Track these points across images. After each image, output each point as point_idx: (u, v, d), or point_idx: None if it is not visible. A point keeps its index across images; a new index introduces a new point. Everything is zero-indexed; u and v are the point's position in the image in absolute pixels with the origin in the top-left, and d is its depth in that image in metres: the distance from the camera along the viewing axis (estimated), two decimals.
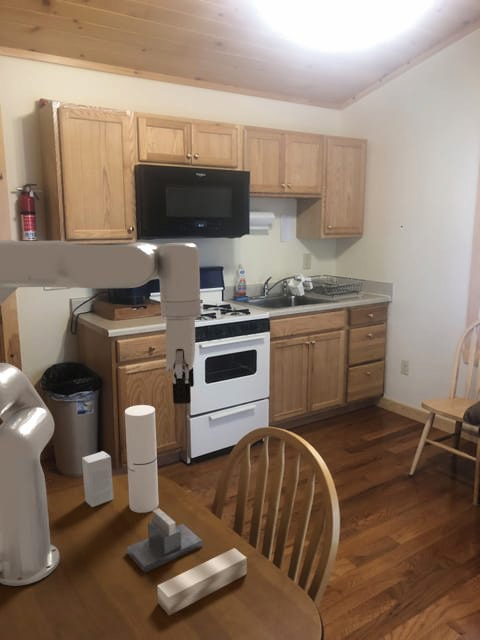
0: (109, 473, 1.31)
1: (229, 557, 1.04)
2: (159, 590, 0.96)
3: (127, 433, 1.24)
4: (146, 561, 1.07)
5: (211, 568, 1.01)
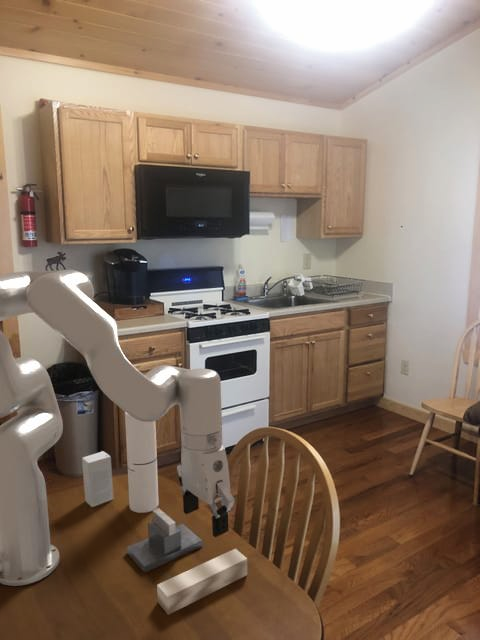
0: (109, 473, 1.31)
1: (229, 558, 1.04)
2: (159, 589, 0.96)
3: (127, 433, 1.24)
4: (146, 561, 1.07)
5: (211, 568, 1.01)
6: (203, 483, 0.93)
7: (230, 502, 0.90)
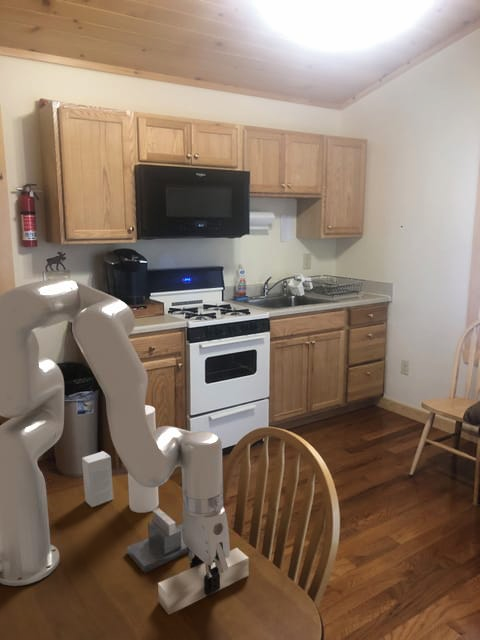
0: (109, 473, 1.31)
1: (230, 557, 1.04)
2: (159, 588, 0.96)
3: None
4: (146, 561, 1.07)
5: (212, 567, 1.01)
6: (203, 545, 0.95)
7: (224, 571, 0.94)
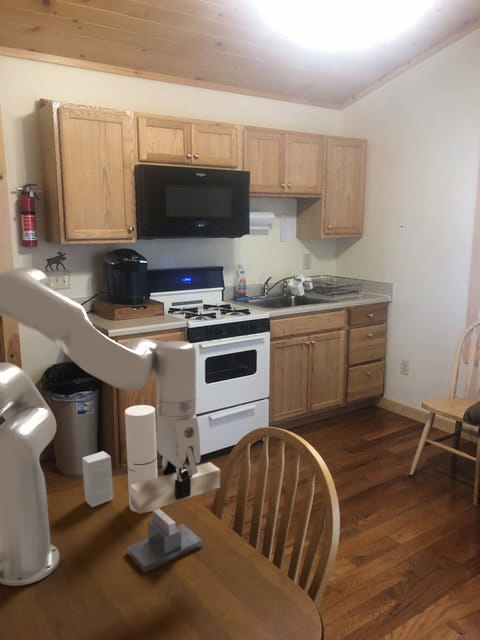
0: (109, 473, 1.31)
1: (203, 468, 1.08)
2: (132, 489, 1.00)
3: (127, 433, 1.24)
4: (146, 561, 1.07)
5: None
6: (174, 448, 0.98)
7: (193, 473, 0.98)
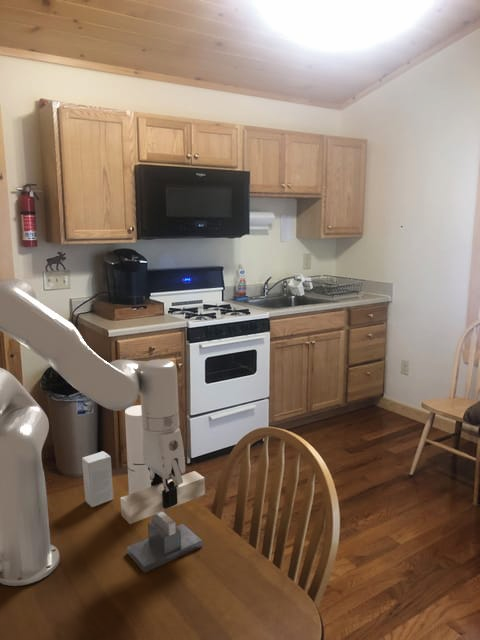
0: (109, 473, 1.31)
1: (188, 477, 1.14)
2: (122, 501, 1.06)
3: (127, 433, 1.24)
4: (146, 561, 1.07)
5: None
6: (160, 460, 1.04)
7: (179, 484, 1.04)
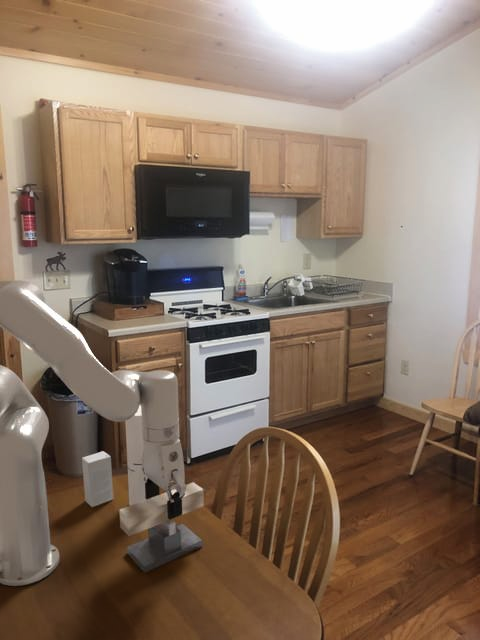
0: (109, 473, 1.31)
1: (187, 489, 1.14)
2: (121, 513, 1.06)
3: (127, 433, 1.24)
4: (146, 561, 1.07)
5: None
6: (160, 471, 1.05)
7: (182, 489, 1.03)
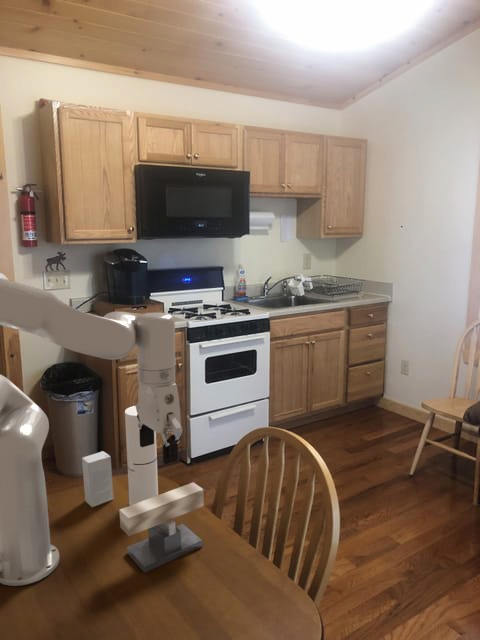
0: (109, 473, 1.31)
1: (187, 489, 1.14)
2: (121, 513, 1.06)
3: (127, 433, 1.24)
4: (146, 561, 1.07)
5: (169, 497, 1.11)
6: (155, 414, 1.02)
7: (178, 430, 1.00)
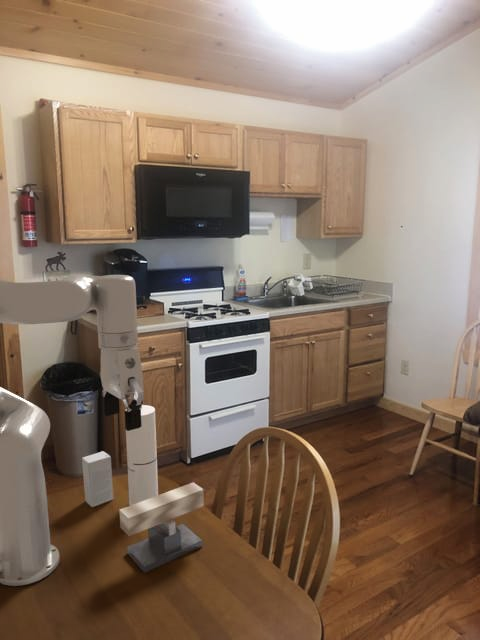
0: (109, 473, 1.31)
1: (187, 489, 1.14)
2: (121, 513, 1.06)
3: (127, 433, 1.24)
4: (146, 561, 1.07)
5: (169, 497, 1.11)
6: (116, 379, 0.99)
7: (139, 395, 0.97)
